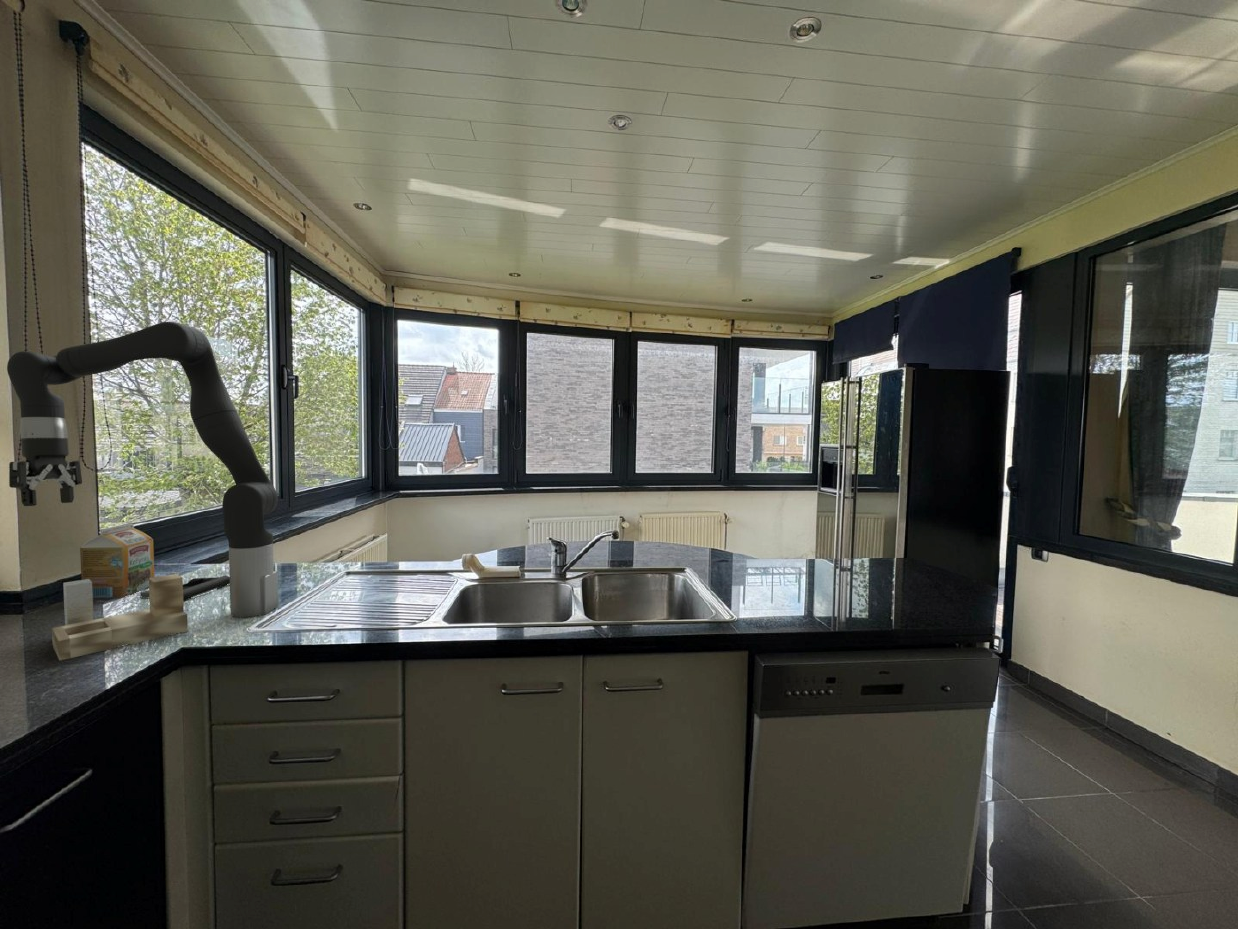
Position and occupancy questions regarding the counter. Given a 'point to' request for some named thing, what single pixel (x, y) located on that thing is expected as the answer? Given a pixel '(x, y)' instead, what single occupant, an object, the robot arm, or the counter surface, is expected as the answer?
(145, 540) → the milk carton
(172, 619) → the post base
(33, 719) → the counter surface
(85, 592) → the square post
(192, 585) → the door handle
